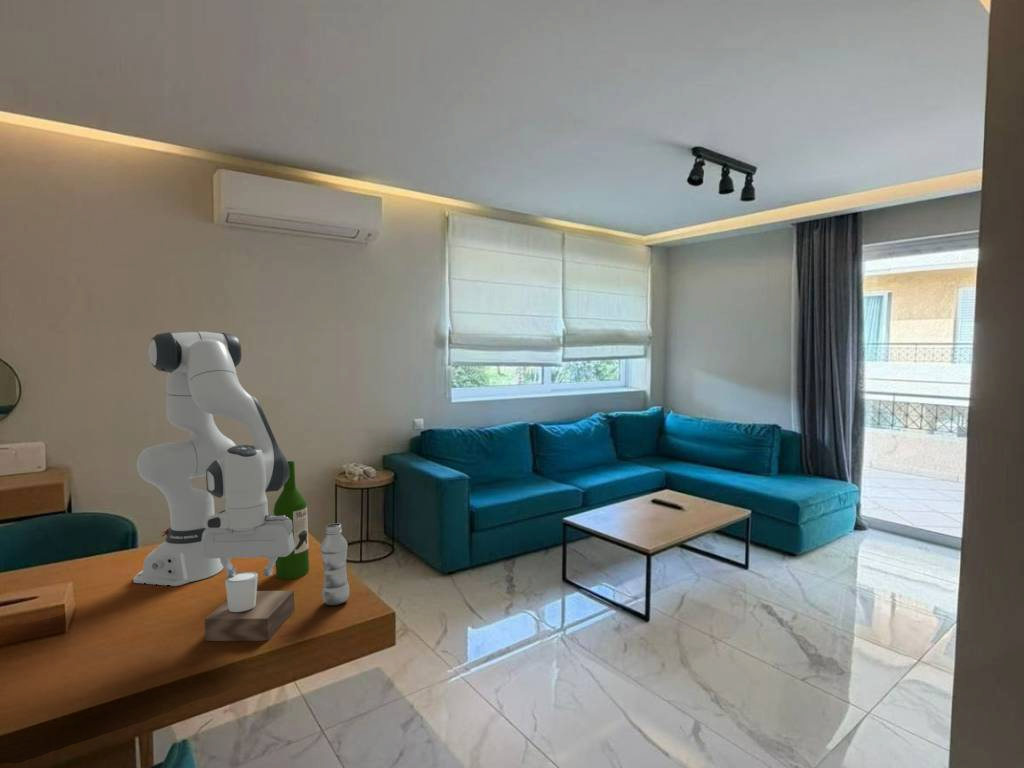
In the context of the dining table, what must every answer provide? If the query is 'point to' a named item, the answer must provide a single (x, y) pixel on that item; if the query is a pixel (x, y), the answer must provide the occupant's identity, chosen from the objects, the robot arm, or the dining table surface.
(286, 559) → the wine bottle
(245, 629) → the block
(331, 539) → the plastic bottle
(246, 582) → the white cup
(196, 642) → the dining table surface
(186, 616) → the dining table surface
